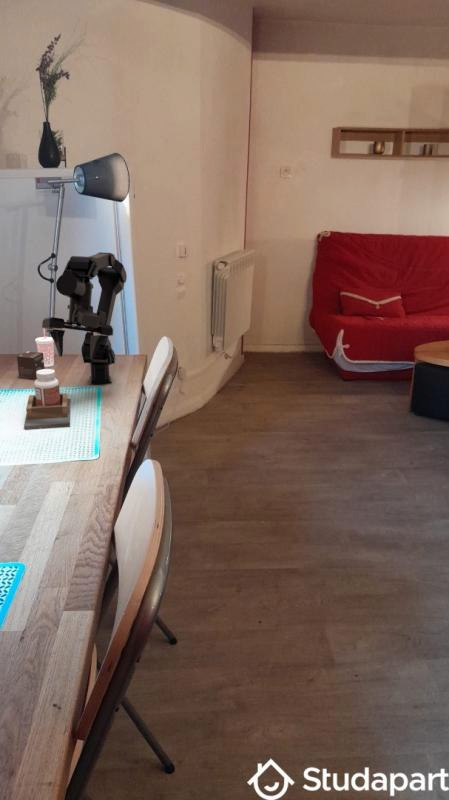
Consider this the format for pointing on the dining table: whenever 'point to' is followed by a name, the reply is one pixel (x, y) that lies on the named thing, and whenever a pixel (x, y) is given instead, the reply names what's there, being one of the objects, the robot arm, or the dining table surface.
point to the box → (30, 364)
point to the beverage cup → (46, 349)
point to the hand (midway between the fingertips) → (76, 358)
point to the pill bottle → (47, 388)
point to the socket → (47, 414)
